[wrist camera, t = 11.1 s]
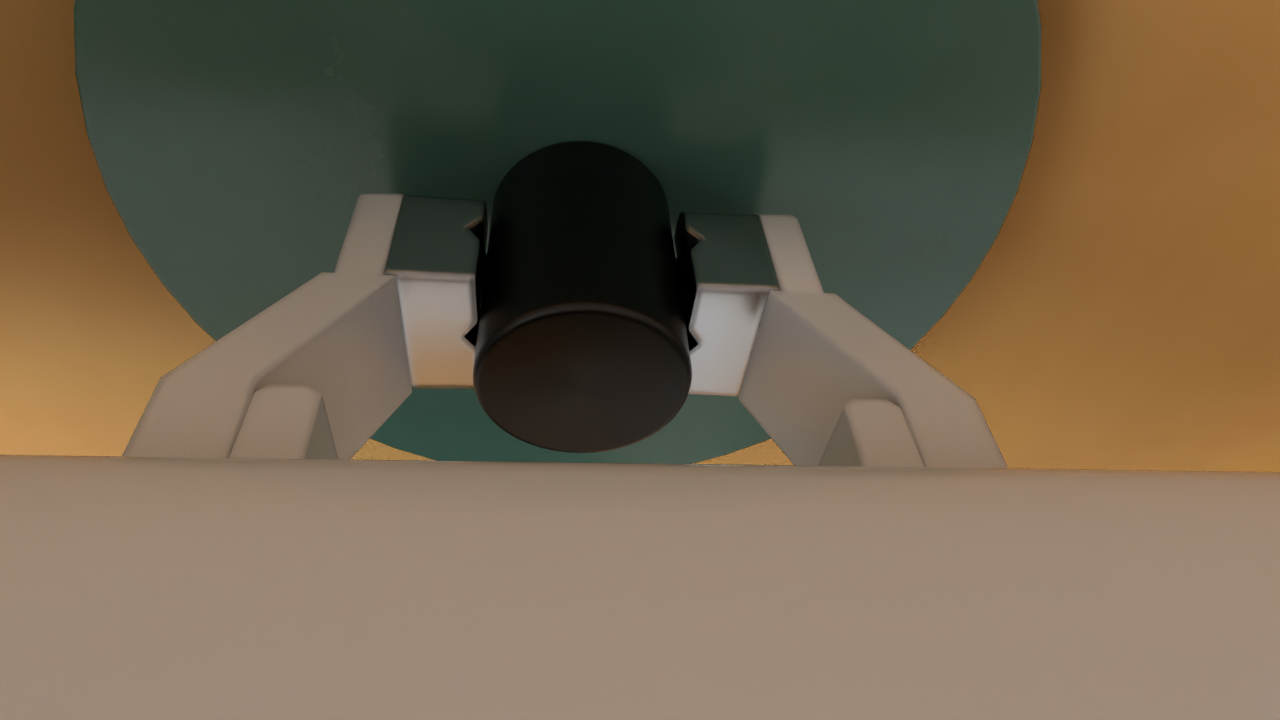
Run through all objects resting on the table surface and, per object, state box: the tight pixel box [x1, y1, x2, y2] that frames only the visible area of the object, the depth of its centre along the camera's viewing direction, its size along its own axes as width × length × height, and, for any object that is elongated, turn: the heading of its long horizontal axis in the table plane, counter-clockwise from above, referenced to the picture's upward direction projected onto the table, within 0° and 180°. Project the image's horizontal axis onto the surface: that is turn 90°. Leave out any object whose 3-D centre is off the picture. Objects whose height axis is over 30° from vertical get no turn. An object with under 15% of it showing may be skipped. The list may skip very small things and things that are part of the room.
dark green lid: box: [74, 0, 1041, 464], centre depth 10 cm, size 12×12×4 cm
